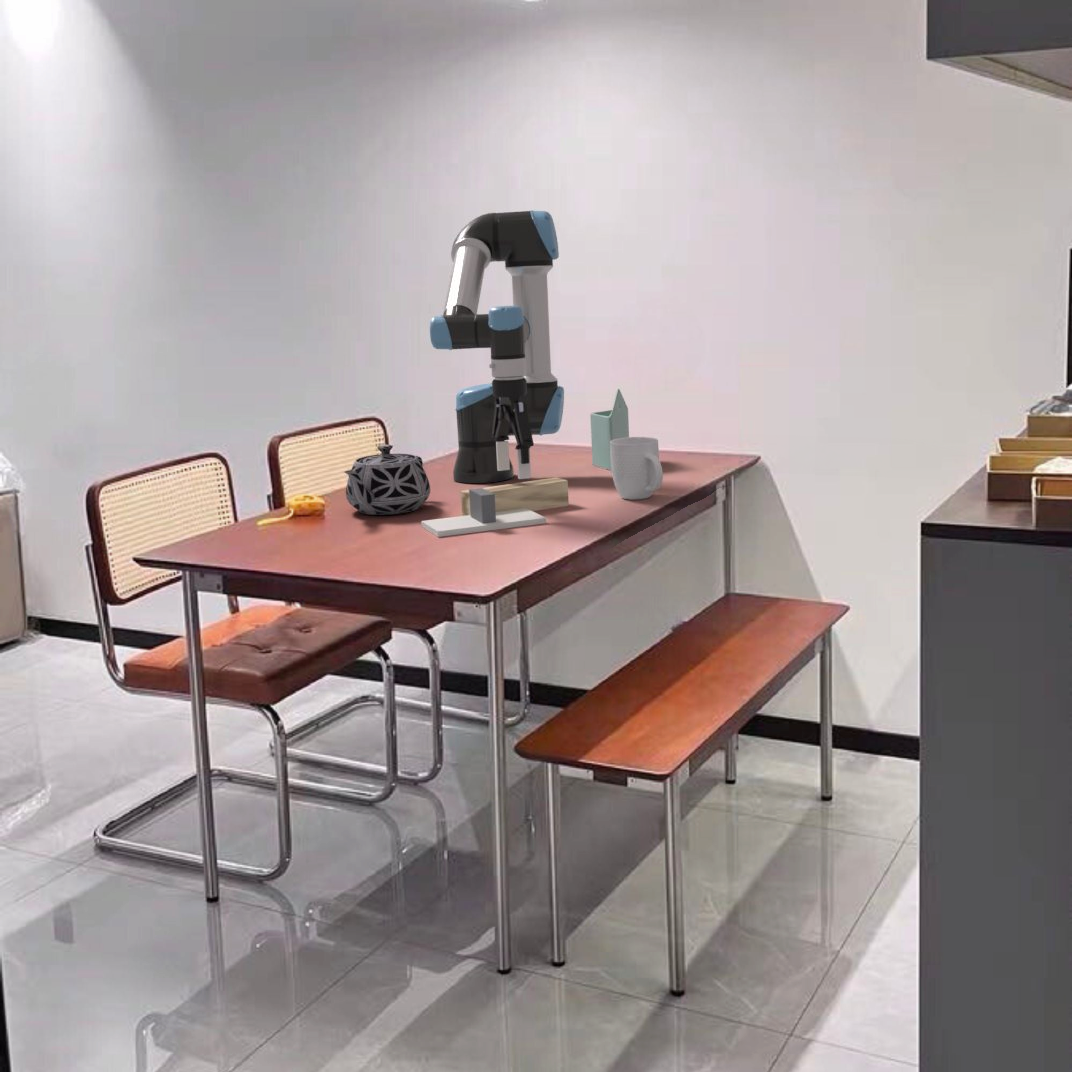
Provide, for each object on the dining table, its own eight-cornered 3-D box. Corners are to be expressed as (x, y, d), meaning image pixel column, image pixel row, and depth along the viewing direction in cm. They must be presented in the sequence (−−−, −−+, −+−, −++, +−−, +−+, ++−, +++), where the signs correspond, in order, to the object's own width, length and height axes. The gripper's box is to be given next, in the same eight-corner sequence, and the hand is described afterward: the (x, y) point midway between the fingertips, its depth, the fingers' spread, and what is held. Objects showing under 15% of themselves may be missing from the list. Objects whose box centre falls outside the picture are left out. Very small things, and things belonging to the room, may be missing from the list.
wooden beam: (462, 517, 324) (460, 491, 323) (558, 503, 335) (556, 477, 334) (472, 521, 320) (470, 494, 319) (568, 506, 331) (567, 480, 329)
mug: (680, 499, 331) (679, 441, 329) (641, 506, 326) (639, 447, 323) (640, 490, 344) (638, 435, 341) (602, 497, 338) (599, 441, 335)
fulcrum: (421, 526, 316) (419, 493, 314) (526, 513, 324) (524, 481, 322) (438, 537, 305) (435, 502, 303) (546, 523, 313) (544, 490, 311)
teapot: (313, 523, 326) (307, 456, 322) (388, 496, 352) (383, 434, 349) (385, 527, 317) (380, 458, 314) (457, 499, 344) (453, 436, 340)
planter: (601, 459, 388) (598, 384, 384) (630, 459, 385) (627, 384, 381) (583, 470, 373) (580, 393, 368) (613, 471, 370) (610, 392, 366)
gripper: (474, 375, 331) (479, 468, 335) (512, 383, 308) (517, 483, 312) (506, 372, 334) (510, 465, 338) (545, 380, 311) (550, 480, 315)
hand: (513, 474), depth 325 cm, fingers open, 13 cm apart
